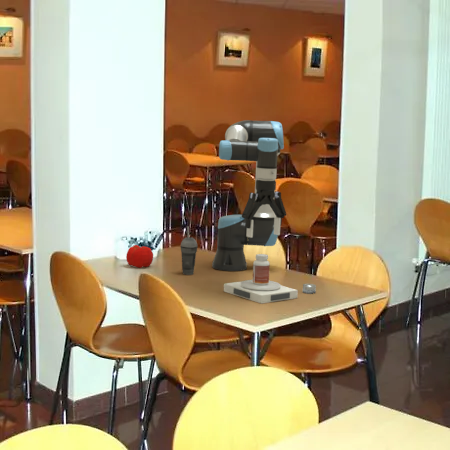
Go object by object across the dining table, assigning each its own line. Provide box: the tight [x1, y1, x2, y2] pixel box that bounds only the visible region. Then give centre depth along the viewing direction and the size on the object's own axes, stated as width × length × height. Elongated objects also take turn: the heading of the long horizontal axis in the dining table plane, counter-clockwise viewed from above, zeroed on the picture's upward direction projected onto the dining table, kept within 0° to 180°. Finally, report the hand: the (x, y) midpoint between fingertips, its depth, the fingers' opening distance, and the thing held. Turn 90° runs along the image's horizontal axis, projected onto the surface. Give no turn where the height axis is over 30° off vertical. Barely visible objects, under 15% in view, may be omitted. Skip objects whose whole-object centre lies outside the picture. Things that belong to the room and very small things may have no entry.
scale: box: [223, 279, 299, 305], centre depth 312 cm, size 22×18×4 cm
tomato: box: [125, 244, 154, 269], centre depth 356 cm, size 11×12×9 cm
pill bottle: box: [252, 253, 270, 285], centre depth 312 cm, size 6×6×11 cm
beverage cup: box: [180, 226, 198, 276], centre depth 344 cm, size 7×7×20 cm
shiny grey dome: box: [302, 283, 317, 295], centre depth 320 cm, size 5×5×3 cm
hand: (263, 235), depth 310 cm, fingers open, 13 cm apart
